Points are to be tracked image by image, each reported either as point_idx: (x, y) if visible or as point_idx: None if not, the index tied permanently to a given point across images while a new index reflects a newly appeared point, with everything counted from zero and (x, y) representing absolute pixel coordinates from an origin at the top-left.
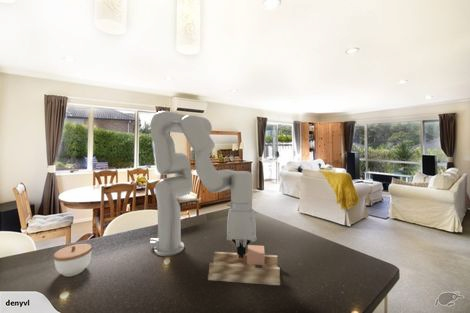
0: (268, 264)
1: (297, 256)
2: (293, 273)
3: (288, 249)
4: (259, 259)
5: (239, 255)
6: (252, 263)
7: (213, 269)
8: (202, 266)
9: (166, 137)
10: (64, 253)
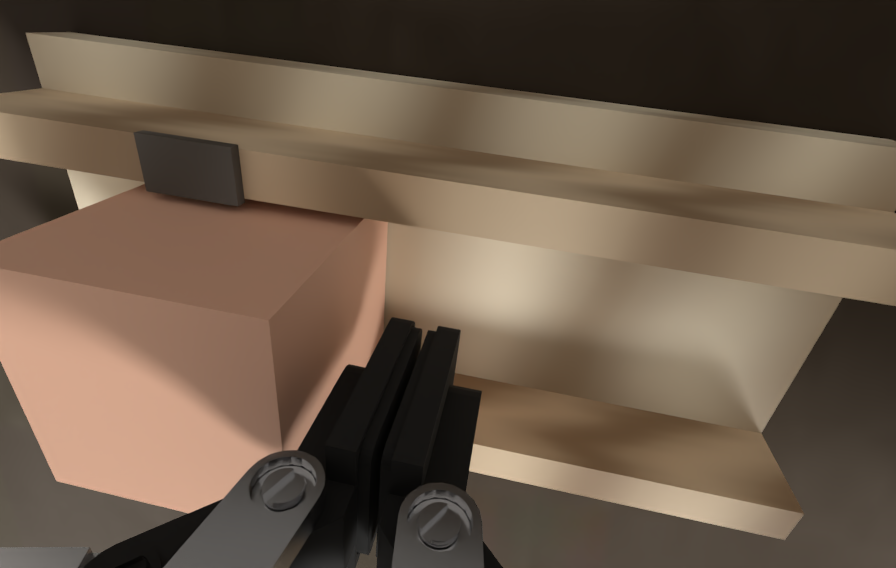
0: None
1: (25, 420)
2: (3, 219)
3: (100, 499)
4: (126, 231)
5: (442, 349)
6: (269, 222)
7: (857, 222)
8: (889, 388)
9: None
10: None
